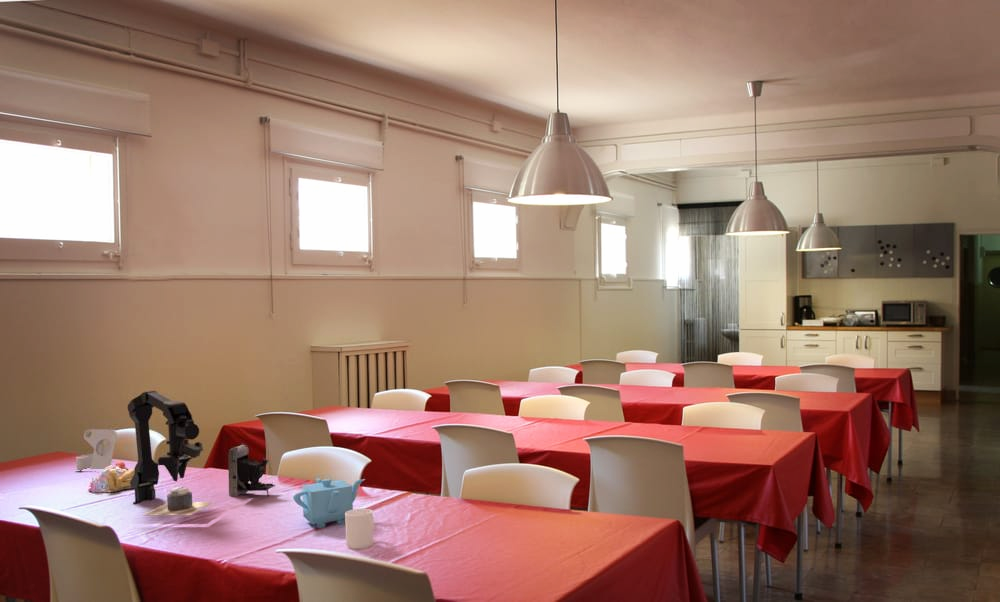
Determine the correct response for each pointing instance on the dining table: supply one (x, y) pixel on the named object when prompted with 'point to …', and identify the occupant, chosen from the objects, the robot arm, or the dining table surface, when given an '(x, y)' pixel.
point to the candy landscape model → (112, 479)
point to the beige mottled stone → (179, 491)
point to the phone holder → (98, 449)
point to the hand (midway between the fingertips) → (178, 479)
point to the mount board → (164, 510)
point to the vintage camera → (245, 472)
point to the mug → (359, 528)
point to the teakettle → (327, 500)
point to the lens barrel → (179, 502)
